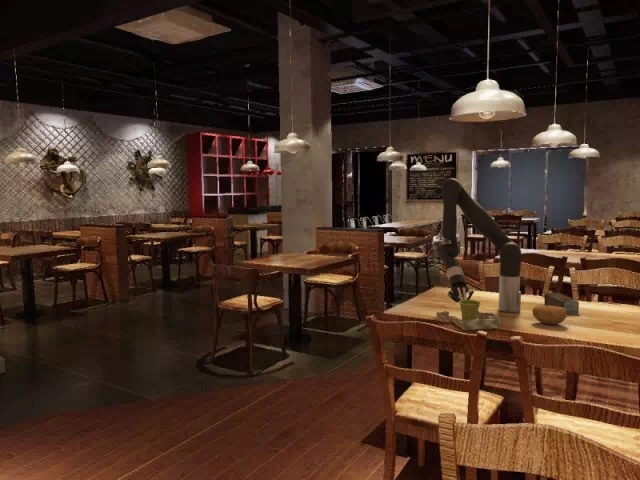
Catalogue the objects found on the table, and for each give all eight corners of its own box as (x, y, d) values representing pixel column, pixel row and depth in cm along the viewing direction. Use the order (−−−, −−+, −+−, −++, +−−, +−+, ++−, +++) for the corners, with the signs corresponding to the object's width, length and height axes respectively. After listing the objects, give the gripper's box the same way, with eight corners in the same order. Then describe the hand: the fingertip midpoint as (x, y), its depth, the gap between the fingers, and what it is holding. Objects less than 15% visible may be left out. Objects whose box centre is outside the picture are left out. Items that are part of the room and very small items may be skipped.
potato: (533, 319, 232) (533, 302, 231) (567, 323, 225) (567, 305, 225) (530, 324, 224) (530, 306, 223) (565, 328, 217) (566, 310, 216)
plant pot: (460, 323, 226) (460, 304, 225) (456, 317, 235) (457, 299, 234) (482, 323, 225) (482, 304, 224) (477, 318, 234) (478, 299, 233)
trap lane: (486, 314, 242) (486, 305, 241) (510, 327, 219) (510, 318, 218) (434, 316, 239) (434, 307, 238) (453, 330, 216) (453, 321, 215)
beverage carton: (562, 314, 241) (563, 300, 241) (543, 304, 260) (543, 292, 260) (579, 314, 242) (579, 300, 241) (558, 304, 261) (559, 291, 260)
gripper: (445, 273, 241) (453, 305, 230) (471, 273, 242) (481, 304, 232) (440, 282, 247) (449, 313, 236) (467, 282, 248) (476, 313, 238)
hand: (465, 309), depth 234 cm, fingers closed
